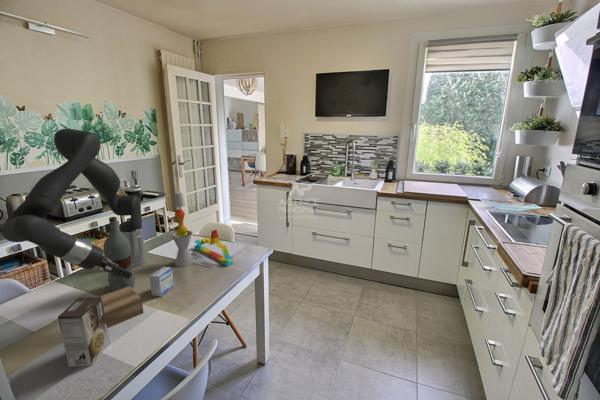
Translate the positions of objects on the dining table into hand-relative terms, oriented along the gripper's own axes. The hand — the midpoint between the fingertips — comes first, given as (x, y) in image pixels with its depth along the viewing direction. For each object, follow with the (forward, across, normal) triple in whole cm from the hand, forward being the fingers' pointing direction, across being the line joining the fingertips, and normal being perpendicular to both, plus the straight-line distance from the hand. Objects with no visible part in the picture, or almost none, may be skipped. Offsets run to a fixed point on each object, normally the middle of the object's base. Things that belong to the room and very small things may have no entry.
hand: (125, 272), depth 103 cm
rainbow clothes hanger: (+41, +12, -22) cm, 48 cm away
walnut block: (+7, -2, +13) cm, 15 cm away
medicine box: (+18, 0, +1) cm, 19 cm away
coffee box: (-3, -16, +22) cm, 27 cm away
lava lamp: (+32, +16, -13) cm, 38 cm away
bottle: (+12, +15, +7) cm, 20 cm away
